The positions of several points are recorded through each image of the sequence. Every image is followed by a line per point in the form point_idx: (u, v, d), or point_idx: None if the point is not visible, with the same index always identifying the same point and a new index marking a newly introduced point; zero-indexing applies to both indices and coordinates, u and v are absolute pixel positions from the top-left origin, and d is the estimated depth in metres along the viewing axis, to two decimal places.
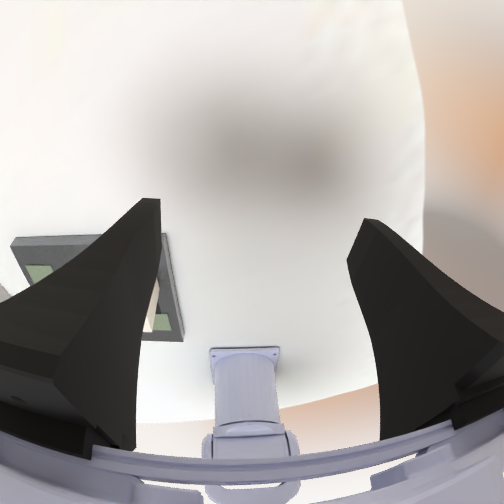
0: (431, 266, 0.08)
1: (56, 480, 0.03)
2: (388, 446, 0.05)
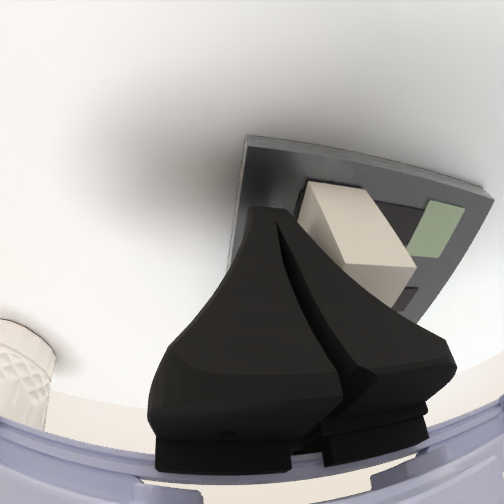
0: (324, 259, 0.07)
1: (56, 480, 0.03)
2: None
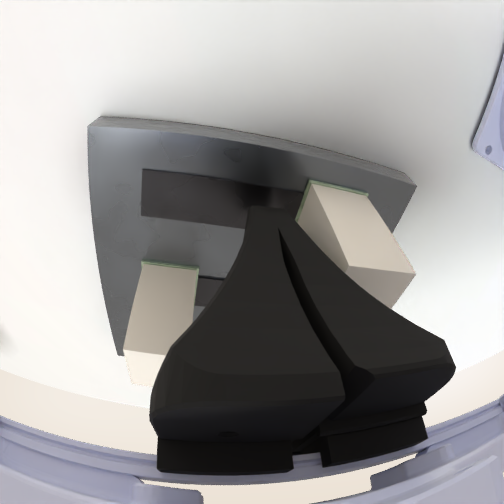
0: (323, 259, 0.07)
1: (56, 480, 0.03)
2: None
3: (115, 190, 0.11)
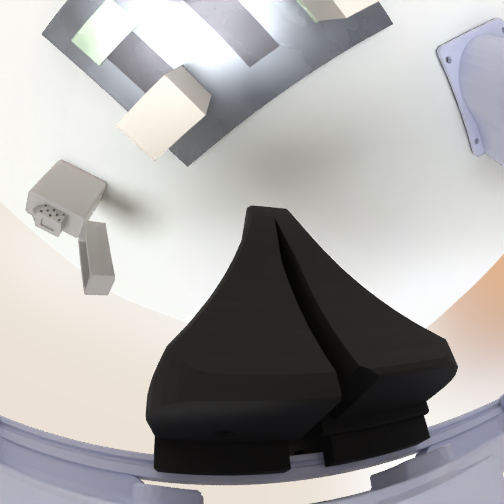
0: (325, 259, 0.07)
1: (56, 480, 0.03)
2: None
3: None
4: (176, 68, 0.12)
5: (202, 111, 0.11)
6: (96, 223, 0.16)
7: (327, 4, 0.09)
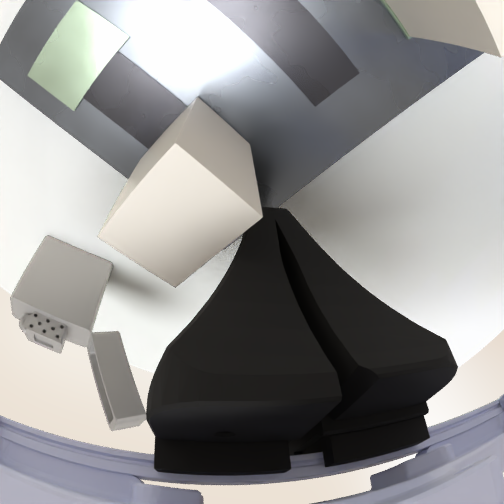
0: (325, 259, 0.07)
1: (56, 480, 0.03)
2: None
3: None
4: (192, 109, 0.07)
5: (256, 209, 0.06)
6: (107, 335, 0.12)
7: (461, 23, 0.04)
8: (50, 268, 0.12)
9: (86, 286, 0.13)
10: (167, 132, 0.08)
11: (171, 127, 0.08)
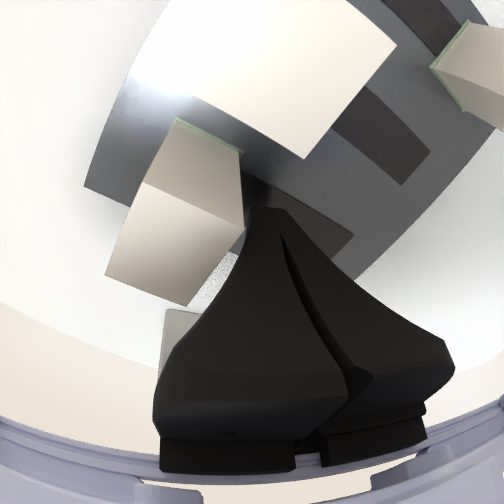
0: (322, 259, 0.07)
1: (56, 480, 0.03)
2: None
3: None
4: (167, 137, 0.08)
5: (236, 223, 0.07)
6: None
7: None
8: None
9: None
10: None
11: None
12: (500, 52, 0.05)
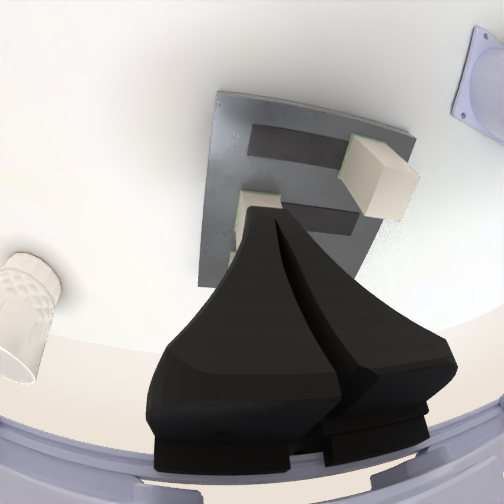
0: (325, 259, 0.07)
1: (56, 480, 0.03)
2: None
3: (230, 137, 0.17)
4: None
5: None
6: None
7: None
8: None
9: None
10: None
11: None
12: (362, 171, 0.16)
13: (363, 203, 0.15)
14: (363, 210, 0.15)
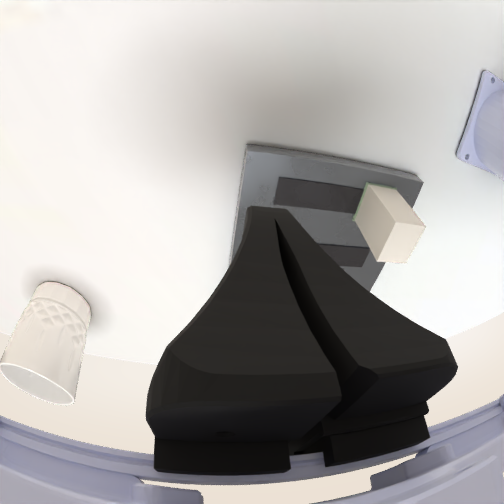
0: (325, 259, 0.07)
1: (56, 480, 0.03)
2: None
3: (259, 189, 0.19)
4: None
5: None
6: None
7: None
8: None
9: None
10: None
11: None
12: (375, 220, 0.18)
13: (375, 250, 0.18)
14: (375, 256, 0.18)
